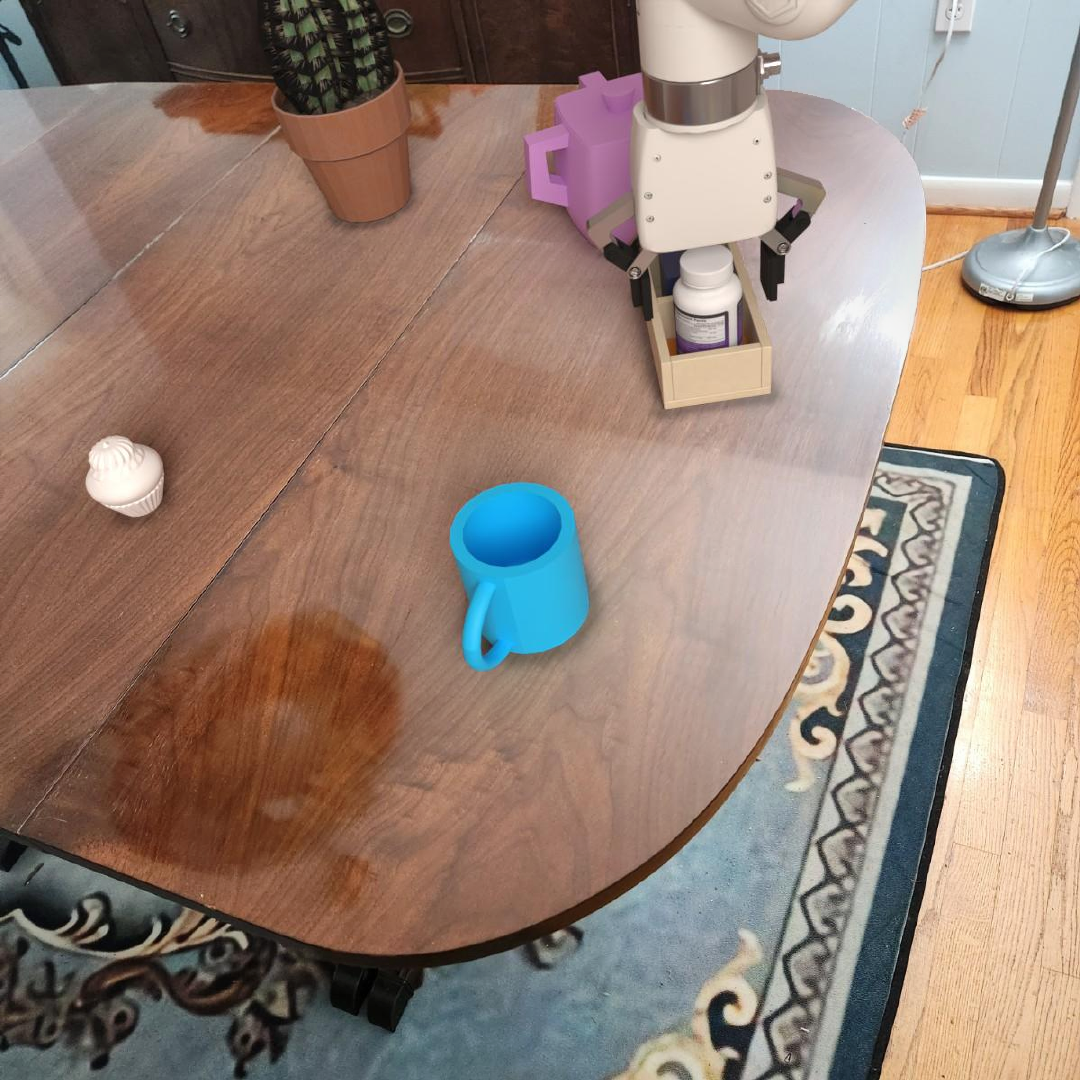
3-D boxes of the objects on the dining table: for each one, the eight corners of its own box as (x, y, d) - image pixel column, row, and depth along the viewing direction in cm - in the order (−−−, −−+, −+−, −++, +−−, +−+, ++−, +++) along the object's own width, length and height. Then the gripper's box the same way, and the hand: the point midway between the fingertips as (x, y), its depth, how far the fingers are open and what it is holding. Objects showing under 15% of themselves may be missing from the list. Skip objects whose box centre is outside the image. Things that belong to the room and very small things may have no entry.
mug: (504, 549, 74) (483, 471, 68) (607, 575, 71) (594, 496, 65) (428, 680, 67) (397, 606, 61) (538, 715, 64) (516, 641, 58)
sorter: (733, 278, 92) (733, 231, 88) (771, 394, 81) (772, 346, 77) (639, 293, 92) (635, 247, 89) (664, 410, 81) (661, 363, 78)
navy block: (717, 285, 90) (716, 236, 86) (727, 318, 87) (726, 268, 83) (661, 293, 90) (658, 245, 87) (669, 327, 87) (666, 278, 83)
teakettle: (590, 155, 110) (576, 40, 101) (738, 172, 103) (737, 50, 94) (517, 240, 101) (494, 122, 92) (673, 266, 94) (666, 141, 85)
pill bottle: (706, 331, 86) (703, 230, 79) (756, 355, 83) (757, 252, 76) (663, 363, 84) (655, 263, 77) (712, 389, 81) (709, 287, 74)
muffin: (104, 493, 85) (63, 432, 80) (175, 467, 86) (138, 406, 81) (110, 541, 81) (66, 481, 76) (183, 514, 82) (146, 452, 77)
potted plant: (415, 233, 105) (344, -22, 87) (295, 238, 108) (202, -8, 90) (445, 165, 114) (386, -80, 95) (333, 172, 117) (255, -65, 98)
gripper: (818, 37, 68) (807, 256, 81) (565, 83, 69) (593, 291, 82) (847, 86, 63) (830, 311, 76) (574, 134, 64) (602, 347, 77)
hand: (707, 301), depth 79 cm, fingers open, 9 cm apart
